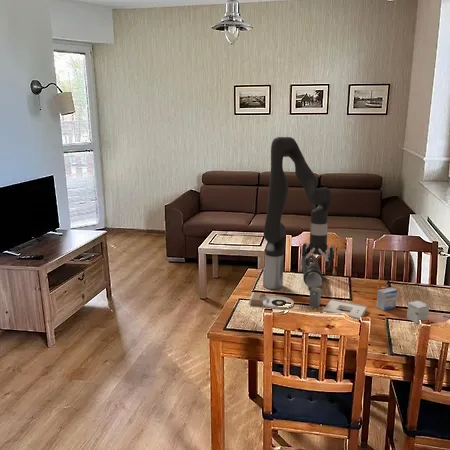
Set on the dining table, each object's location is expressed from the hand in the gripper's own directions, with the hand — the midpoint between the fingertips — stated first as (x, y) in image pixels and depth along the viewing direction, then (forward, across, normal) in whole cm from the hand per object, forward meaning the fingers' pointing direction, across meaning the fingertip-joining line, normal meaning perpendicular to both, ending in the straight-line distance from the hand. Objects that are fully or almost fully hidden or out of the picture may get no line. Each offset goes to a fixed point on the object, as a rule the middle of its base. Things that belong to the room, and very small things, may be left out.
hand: (317, 267), depth 203 cm
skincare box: (+20, +42, +8) cm, 47 cm away
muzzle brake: (+19, -13, +29) cm, 36 cm away
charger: (+19, -1, 0) cm, 19 cm away
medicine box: (+20, +28, +14) cm, 37 cm away
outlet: (+19, +13, -1) cm, 23 cm away
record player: (+19, -19, -7) cm, 28 cm away
